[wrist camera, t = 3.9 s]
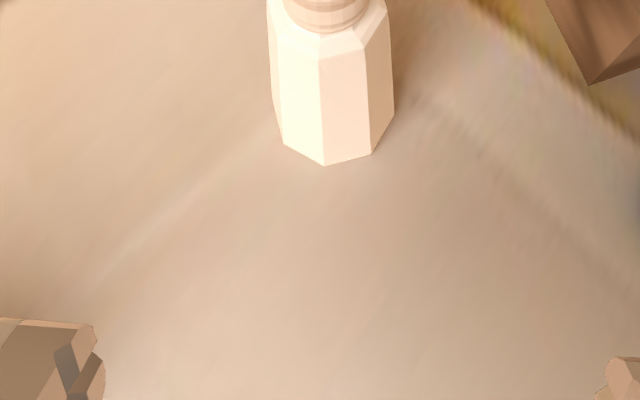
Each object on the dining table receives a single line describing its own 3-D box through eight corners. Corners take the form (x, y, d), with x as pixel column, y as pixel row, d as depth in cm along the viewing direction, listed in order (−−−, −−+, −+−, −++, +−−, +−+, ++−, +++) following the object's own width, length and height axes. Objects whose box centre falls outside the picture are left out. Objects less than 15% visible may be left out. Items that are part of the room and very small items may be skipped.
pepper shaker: (282, 46, 26) (238, -149, 16) (401, 59, 26) (439, -132, 15) (262, 159, 25) (201, 32, 14) (386, 175, 25) (417, 55, 14)
